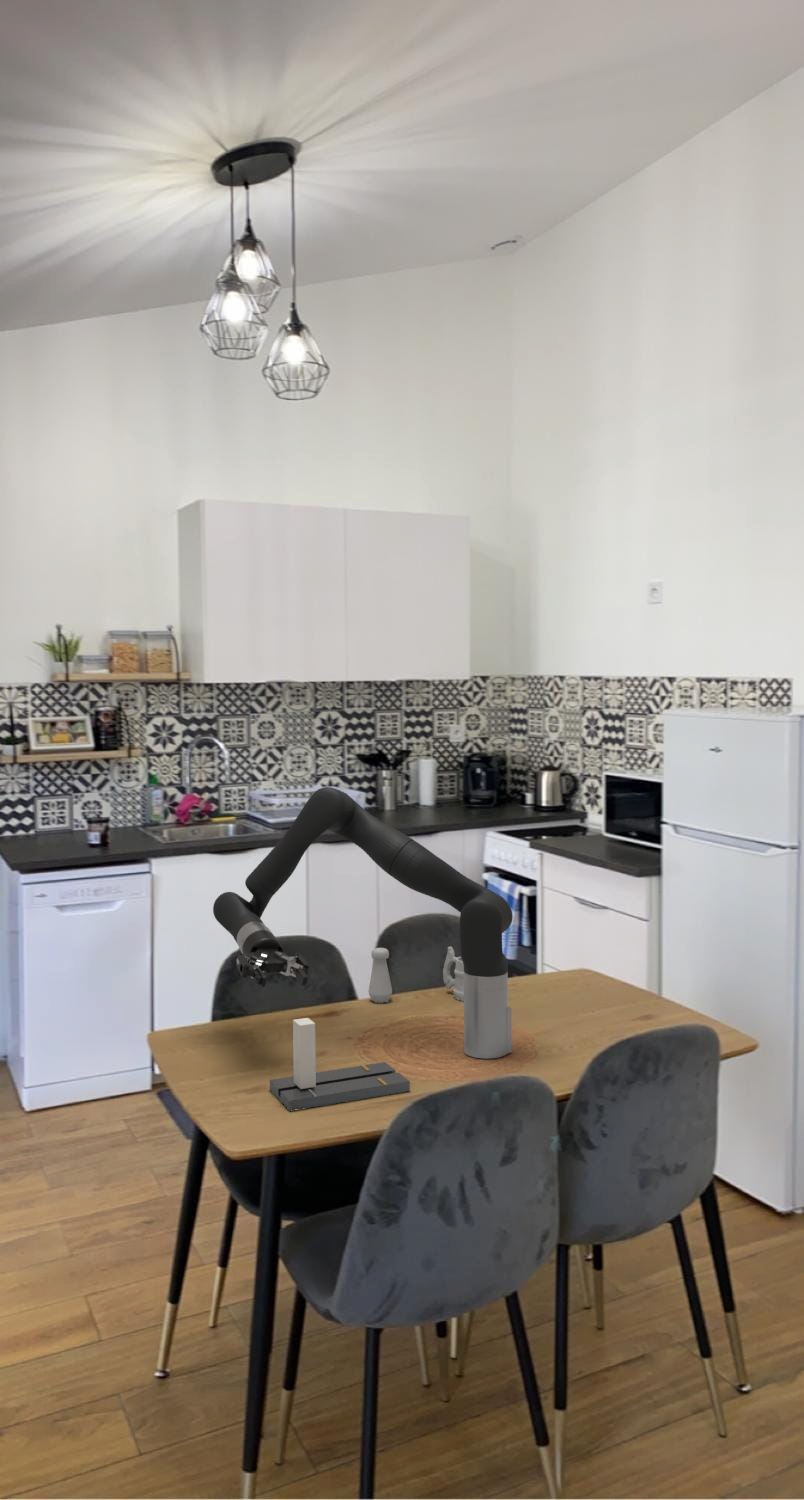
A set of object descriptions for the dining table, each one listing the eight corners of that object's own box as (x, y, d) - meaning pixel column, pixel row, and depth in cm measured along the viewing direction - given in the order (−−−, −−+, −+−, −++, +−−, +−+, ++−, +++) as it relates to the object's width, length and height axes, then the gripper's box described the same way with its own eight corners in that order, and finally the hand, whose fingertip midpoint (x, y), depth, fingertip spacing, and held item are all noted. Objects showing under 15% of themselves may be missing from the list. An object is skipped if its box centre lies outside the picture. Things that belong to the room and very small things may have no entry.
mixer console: (384, 1071, 223) (384, 1060, 222) (409, 1091, 212) (409, 1080, 211) (269, 1090, 213) (269, 1078, 213) (289, 1111, 202) (289, 1099, 202)
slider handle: (308, 1085, 212) (308, 1017, 211) (315, 1092, 208) (315, 1023, 207) (293, 1087, 210) (293, 1019, 210) (300, 1094, 207) (299, 1025, 206)
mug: (471, 1004, 270) (471, 955, 269) (434, 995, 278) (433, 948, 277) (490, 997, 276) (490, 949, 275) (453, 989, 283) (453, 942, 283)
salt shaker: (389, 1004, 270) (388, 952, 269) (366, 1003, 271) (365, 951, 270) (394, 998, 275) (393, 946, 275) (371, 997, 277) (371, 945, 276)
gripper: (229, 929, 229) (253, 965, 215) (293, 929, 236) (321, 964, 222) (223, 962, 231) (246, 1000, 217) (287, 961, 238) (314, 998, 224)
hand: (284, 982), depth 220 cm, fingers open, 8 cm apart
